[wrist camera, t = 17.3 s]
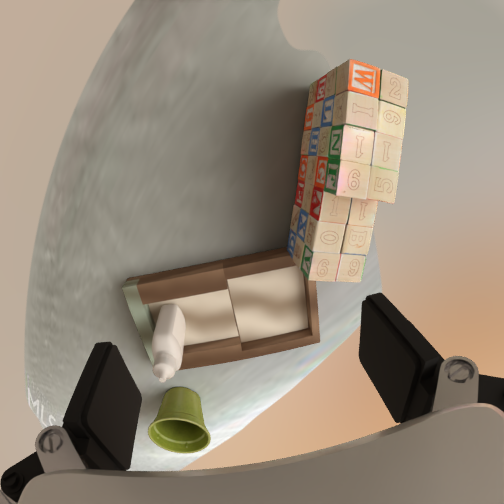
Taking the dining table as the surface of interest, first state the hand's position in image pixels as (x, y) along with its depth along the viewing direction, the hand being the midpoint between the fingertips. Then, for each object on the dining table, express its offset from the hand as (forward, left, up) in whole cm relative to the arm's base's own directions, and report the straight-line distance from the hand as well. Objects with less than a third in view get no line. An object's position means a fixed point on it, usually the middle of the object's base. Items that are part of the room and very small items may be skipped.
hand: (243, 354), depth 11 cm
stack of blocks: (-3, +13, -27) cm, 30 cm away
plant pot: (+30, -13, -28) cm, 43 cm away
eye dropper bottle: (+13, -10, -27) cm, 32 cm away
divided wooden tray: (+14, -2, -28) cm, 31 cm away
